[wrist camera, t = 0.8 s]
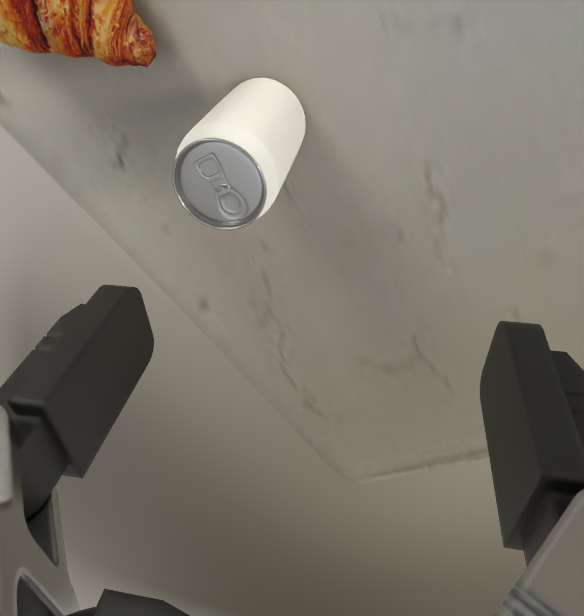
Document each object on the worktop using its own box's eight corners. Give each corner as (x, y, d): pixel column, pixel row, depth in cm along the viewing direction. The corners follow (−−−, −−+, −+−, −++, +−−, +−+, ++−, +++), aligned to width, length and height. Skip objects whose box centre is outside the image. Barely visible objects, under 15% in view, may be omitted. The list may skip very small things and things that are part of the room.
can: (251, 174, 40) (205, 250, 30) (208, 100, 36) (142, 159, 27) (321, 142, 37) (293, 214, 28) (281, 58, 34) (235, 109, 25)
